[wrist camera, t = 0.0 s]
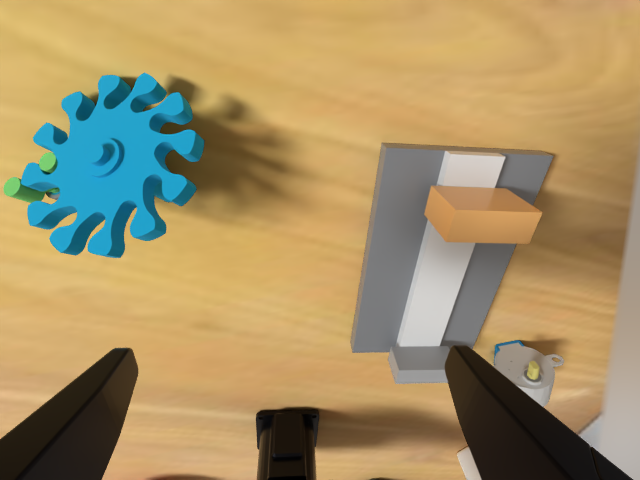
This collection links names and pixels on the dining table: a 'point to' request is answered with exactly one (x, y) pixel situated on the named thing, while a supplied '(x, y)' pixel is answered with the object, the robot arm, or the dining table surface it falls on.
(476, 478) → the medicine bottle
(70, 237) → the gear
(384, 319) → the rail
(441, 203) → the tall tan wooden block
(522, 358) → the electric motor
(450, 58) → the dining table surface
